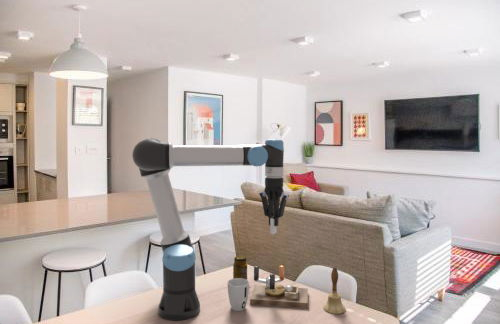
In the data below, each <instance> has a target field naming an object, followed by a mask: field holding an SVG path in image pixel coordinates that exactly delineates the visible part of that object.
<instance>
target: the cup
mask: <svg viewBox="0 0 500 324" xmlns="http://www.w3.org/2000/svg"><path fill="white" fill-rule="evenodd" d="M249 286H250V281H249V280H248V279H247V280H246V279H242V278H235V279H233V278H231V279H229V280H228V281H227V294H228V300H229V304H230V308H231V310H232V311H235V312H242V311H244V310H245V309H246V306H247V303H248V296H249V291H250V290H249V289H250V288H249Z"/></svg>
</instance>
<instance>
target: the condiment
mask: <svg viewBox="0 0 500 324" xmlns="http://www.w3.org/2000/svg"><path fill="white" fill-rule="evenodd" d="M233 259H234V261H233V262H234V263H233V266H232V268H233V272H232V275H233V276H232V277H233V278H232V279H235V278H242V279H246V280H248V263H247V257H246V256H243V255H236V256H235V257H234V258H233ZM250 288H251V286H250V285H249V289H250Z"/></svg>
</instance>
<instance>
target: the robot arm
mask: <svg viewBox="0 0 500 324" xmlns="http://www.w3.org/2000/svg"><path fill="white" fill-rule="evenodd" d="M284 149H285V147H284V141H283V140H282V139H278V138H277V139H276V138H275V139H266V140H265V141H264V143H263V144H262V143H261V144H254V143H253V144H251V143H248V144H247V143H243V144H242V143H241V144H235V145H229V144H228V145H226V144H225V145H222V144H221V145H213V144H212V145H211V144H210V145H206V144H205V145H203V144H202V145H200V144H199V145H198V144H197V145H195V144H193V145H189V144H188V145H184V144H183V145H180V144H179V145H178V144H177V145H174V144H173V143H172V142H166V141H165V142H162V141H161V140H158V139H156V138H146V139H143V140H141V141H139V142H138V143H137V144H136V145H135V146H134V147H133V150H132V155H131V157H132V161H133V163H134V164H135V166H137V168H138V170H139V173H140V177H141V178H143V179H144V180H146V183H147V186H148V191H149V193H150V197H151V201H152V204H153V208H154V211H155V214H156V218H157V221H158V222H157V223H158V225H159V228H160V232H161V235H162V238H161V240H160V242H159V243H160V247H161V250H162V258H161V259H162V291H163V292H162V294H161V298H160V301H159V304H158V316H159V317H161V318H163V319H165V320H169V321H183V320H184V321H185V320H188V319H191V318H194V317H195V316H197V315H198V314H199V313H200V312H201V302H200V300H199V297H198V293H197V291H196V258H197V257H196V252H195V248H194V245H193V244H192V241H191V236H190V233H188V232H186V231H185V230H184V226H183V222H182V219H181V215H180V211H179V209H178V205H177V201H176V197H175V194H174V191H173V187H172V184H171V180H170V176H169V173H170V171H171V169H172V168H173V167H174V168H175V167H210V166H211V167H214V166H216V167H218V166H220V167H223V166H227V167H228V166H229V167H231V166H237V167H238V166H250V167H251V166H253V167H262V166H263V165H264V166H265V167H264V175H265V177H264V190H263V191H261V192H259V193H258V194H259V197H260V198H261V202H262V209H263V213H264V214H263V215H264V216H265V217H268V226H269V227H270V229H269V230H270V231H269V232H270V233H269V234H270V235H275V234H277V233H278V231H277V229H278V226H279V219H281V218H282V217H283V216H284V212H285V208H286V205H287V201H288V198H289V197H290V195H289V194H287V193H285V191H284V188H283V187H284V153H285V152H284V151H285V150H284Z"/></svg>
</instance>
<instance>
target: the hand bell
mask: <svg viewBox="0 0 500 324" xmlns="http://www.w3.org/2000/svg"><path fill="white" fill-rule="evenodd" d="M330 275H331V282H332V287H331V288H332V289H331V290H332V291H331V293H329V294H328V298H327V301H326V303H325V304H324V305H323V308H322V309H323V310H324V312H326V313H329V314H333V315H340V314H344V313H345V312H346V306H344V305H343V303H342V298H341V294H339V293H338V287H337V285H338V281H339V272H338V268H337V267H336V266H334V267H332V270H331V274H330Z"/></svg>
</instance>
